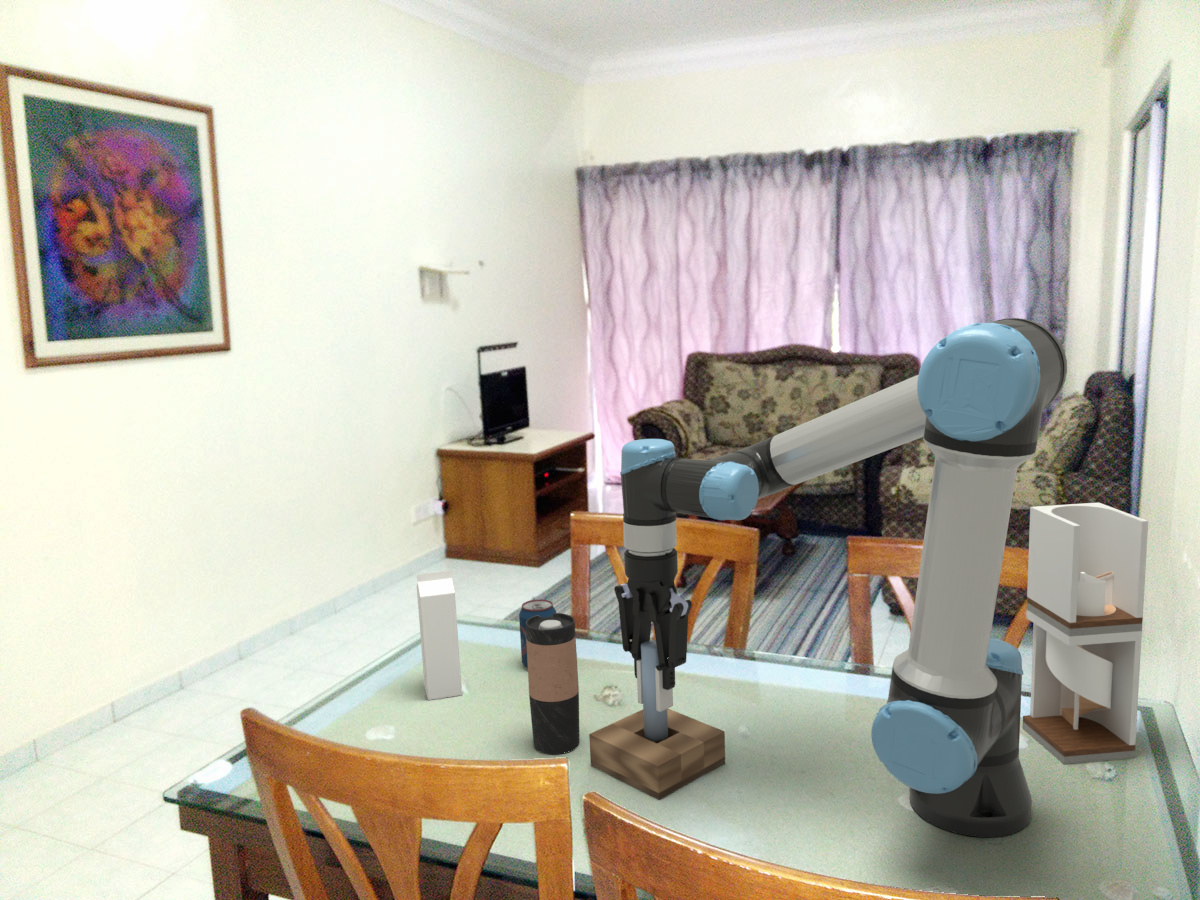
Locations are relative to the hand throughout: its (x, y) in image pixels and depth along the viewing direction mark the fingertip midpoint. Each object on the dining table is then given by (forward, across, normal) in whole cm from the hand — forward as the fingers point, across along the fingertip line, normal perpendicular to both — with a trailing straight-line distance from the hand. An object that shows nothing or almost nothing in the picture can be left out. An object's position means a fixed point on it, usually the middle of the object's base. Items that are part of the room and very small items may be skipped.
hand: (655, 704), depth 142 cm
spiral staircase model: (+10, -41, -47) cm, 63 cm away
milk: (+10, +46, +7) cm, 47 cm away
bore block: (+9, 0, 0) cm, 9 cm away
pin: (+5, 0, 0) cm, 5 cm away
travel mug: (+10, +16, +6) cm, 20 cm away
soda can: (+10, +42, -12) cm, 45 cm away
